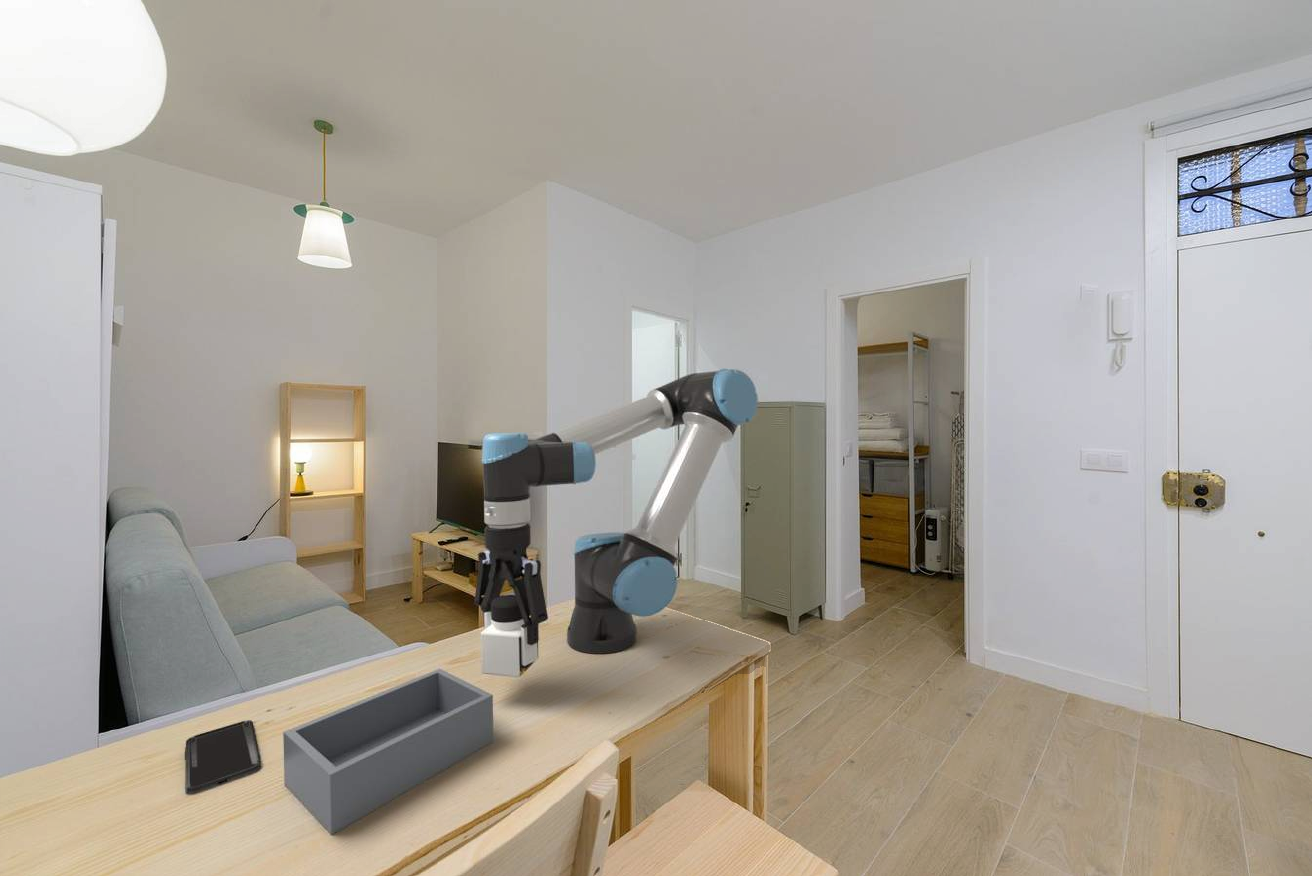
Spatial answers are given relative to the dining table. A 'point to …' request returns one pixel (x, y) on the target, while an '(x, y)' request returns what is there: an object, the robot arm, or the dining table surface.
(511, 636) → the medicine bottle
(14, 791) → the dining table surface
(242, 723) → the phone
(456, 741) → the slate box
